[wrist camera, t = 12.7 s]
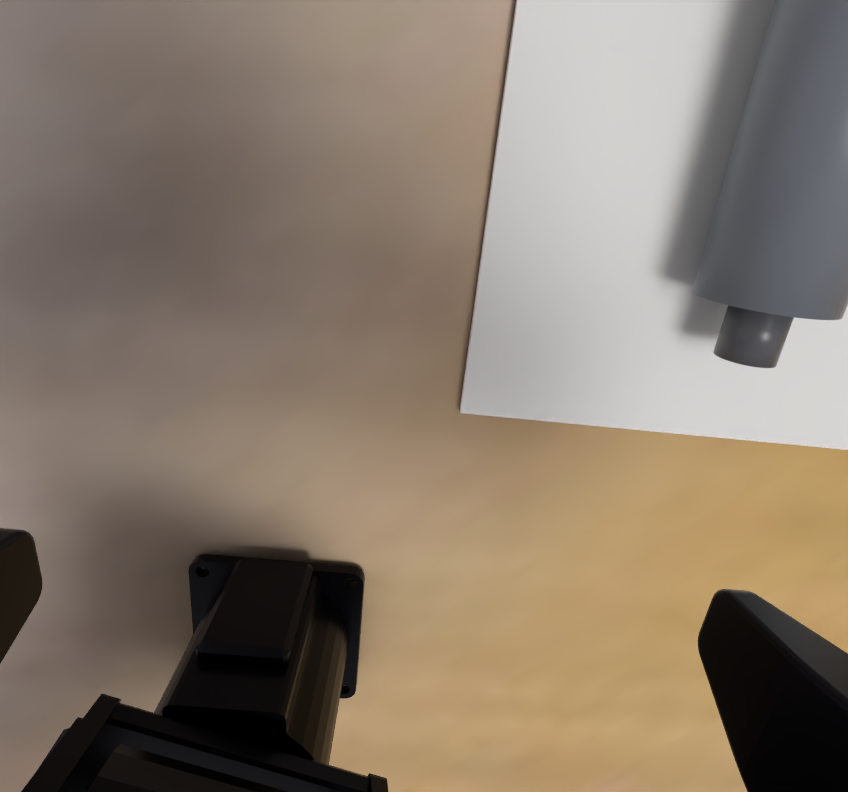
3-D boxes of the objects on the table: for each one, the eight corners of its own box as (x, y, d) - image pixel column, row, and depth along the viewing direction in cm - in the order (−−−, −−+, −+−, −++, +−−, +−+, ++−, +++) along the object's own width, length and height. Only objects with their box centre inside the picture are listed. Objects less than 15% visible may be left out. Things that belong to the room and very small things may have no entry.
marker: (704, 334, 18) (833, 368, 15) (654, 348, 15) (798, 390, 13) (894, -288, 12) (1141, -386, 10) (862, -416, 10) (1177, -586, 7)
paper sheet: (860, 447, 19) (867, 451, 18) (459, 409, 18) (460, 413, 18) (1247, -405, 11) (1268, -420, 11) (586, -508, 11) (590, -527, 10)
